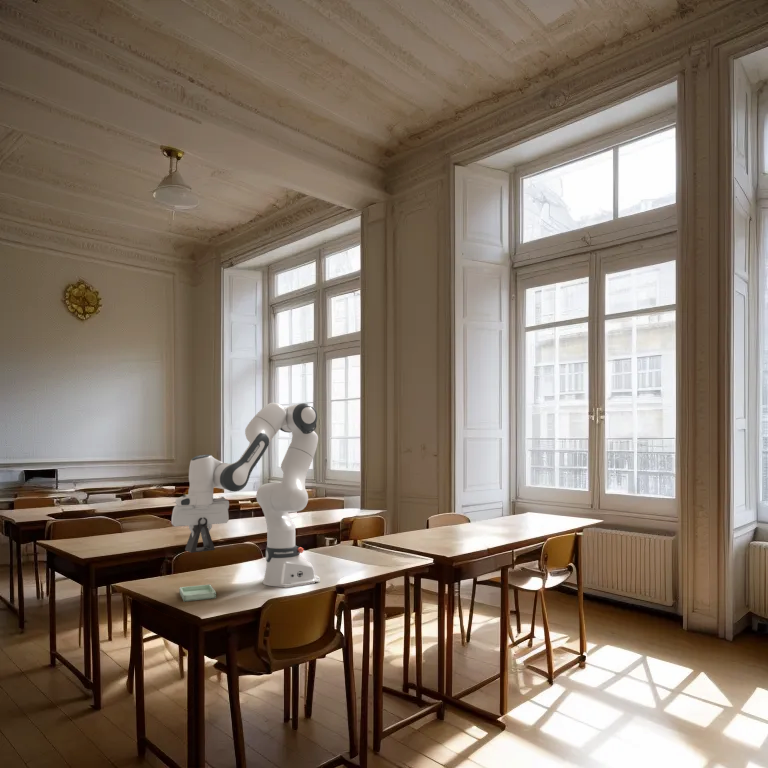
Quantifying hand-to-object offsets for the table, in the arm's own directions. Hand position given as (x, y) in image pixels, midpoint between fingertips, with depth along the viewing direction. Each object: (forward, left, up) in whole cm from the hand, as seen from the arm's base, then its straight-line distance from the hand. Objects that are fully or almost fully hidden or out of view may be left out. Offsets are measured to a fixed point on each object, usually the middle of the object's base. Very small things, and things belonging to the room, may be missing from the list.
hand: (200, 537), depth 236 cm
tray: (0, -1, -21) cm, 21 cm away
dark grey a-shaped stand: (0, 0, -5) cm, 5 cm away
